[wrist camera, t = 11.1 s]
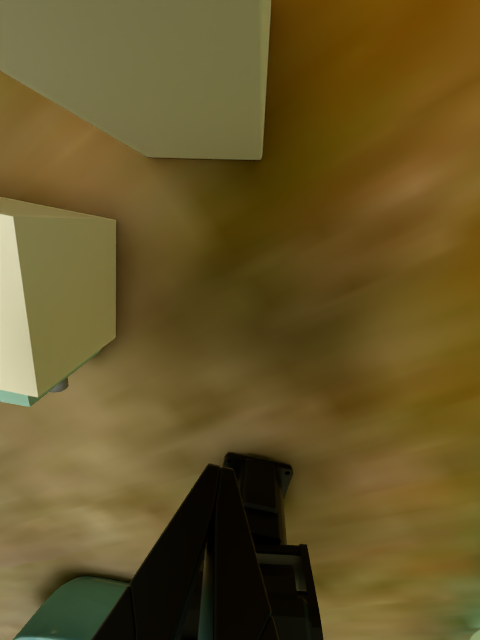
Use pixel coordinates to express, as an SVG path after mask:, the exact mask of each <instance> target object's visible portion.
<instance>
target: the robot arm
mask: <svg viewBox="0 0 480 640" xmlns="http://www.w3.org/2000/svg"><path fill="white" fill-rule="evenodd" d="M230 459H231V460H230ZM292 475H293V470H292V467H291V466H288V465H283V464H278V463H273V462H269V461H264V460H259V459H254V458H249V457H244V456H240V455H235V454H227V455H226V456H225V459H224V463H223V467H221V468H220V466H218V465H213V464H208V465H207V466H206V468H205V469H204V471H203V472H202V474H201V475H200V477H199V478H198V480H197V482H196V483H195V485H194V486H193V488H192V489H191V491H190V492H189V494H188V495H187V497H186V498H185V500H184V501H183V503H182V504H181V506H180V507H179V509H178V510H177V512H176V513H175V515H174V516H173V518H172V519H171V521H170V522H169V524H168V525H167V527H166V528H165V530H164V531H163V533H162V535H161V536H160V538H159V539H158V541H157V542H156V544H155V545H154V547H153V548H152V550H151V551H150V553H149V554H148V556H147V557H146V559H145V560H144V562H143V563H142V565H141V566H140V568H139V569H138V571H137V572H136V574H135V575H134V577H133V578H132V580H131V581H130V586H127V587H126V589H125V590H124V592H123V593H122V595H121V596H120V598H119V599H118V601H117V602H116V604H115V605H114V607H113V608H112V610H111V611H110V613H109V614H108V615H107V617H106V618H105V620H104V621H103V623H102V624H101V626H100V627H99V628H98V630H97V631H96V633H95V634H94V636H93V637H92V638H91V640H323V633H322V626H321V619H320V613H319V607H318V602H317V597H316V591H315V586H314V581H313V576H312V570H311V565H310V560H309V554H308V549H307V545H306V544H299V546H297V545H287V541H286V528H285V516H284V504H283V499H284V496H285V493H286V491H287V488H288V486H289V483H290V480H291V478H292ZM297 590H299V591H297Z"/></svg>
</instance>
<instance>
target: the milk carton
mask: <svg viewBox="0 0 480 640" xmlns="http://www.w3.org/2000/svg"><path fill="white" fill-rule="evenodd" d="M270 16H271V0H0V71H2V72H3V73H5V74H7V75H9V76H10V77H12V78H14V79H15V80H17V81H19V82H20V83H22V84H24V85H25V86H27V87H29V88H31V89H32V90H34V91H36V92H37V93H39V94H41V95H42V96H44V97H46V98H48V99H49V100H51V101H53V102H54V103H56V104H58V105H59V106H61V107H63V108H64V109H66V110H68V111H70V112H71V113H73V114H75V115H76V116H78V117H80V118H81V119H83V120H85V121H87V122H88V123H90V124H92V125H93V126H95V127H97V128H98V129H100V130H102V131H103V132H105V133H107V134H109V135H110V136H112V137H114V138H115V139H117V140H119V141H120V142H122V143H124V144H125V145H127V146H129V147H131V148H132V149H134V150H136V151H137V152H139V153H141V154H142V155H144V156H146V157H152V158H194V159H236V160H261V158H262V151H263V136H264V119H265V102H266V85H267V68H268V51H269V34H270Z"/></svg>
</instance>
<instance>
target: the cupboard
mask: <svg viewBox="0 0 480 640" xmlns="http://www.w3.org/2000/svg"><path fill="white" fill-rule="evenodd" d="M114 338H116V220H114V219H109V218H104V217H99V216H94V215H89V214H84V213H79V212H74V211H69V210H64V209H59V208H54V207H49V206H44V205H39V204H34V203H29V202H24V201H19V200H14V199H9V198H4V197H0V390H4V391H9V392H13V393H18V394H23V395H28V396H33V397H40V396H41V395H42V394H43V393H45V392H46V391H47V390H49V389H50V388H51V387H53V386H54V385H55V384H56V383H58V382H59V381H60V380H62V379H63V378H64V377H65V376H67V375H68V374H69V373H71V372H72V371H73V370H74V369H76V368H77V367H78V366H80V365H81V364H82V363H83V362H85V361H86V360H87V359H89V358H90V357H91V356H92V355H94V354H95V353H96V352H98V351H99V350H100V349H101V348H103V347H104V346H105V345H107V344H108V343H109V342H110V341H112V340H113V339H114Z"/></svg>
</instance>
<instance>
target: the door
mask: <svg viewBox="0 0 480 640" xmlns="http://www.w3.org/2000/svg"><path fill="white" fill-rule="evenodd" d="M100 351H101V349H100V350H99V351H98V352H96V353H95V354H94V355H92V356H91V357H90V358H89V359H87V360H86V361H85V362H83V363H82V364H81V365H80V366H78V367H77V368H76V369H74V370H73V371H72V372H71V373H69V374H68V375H67V376H65V377H64V378H63V379H62V380H60V381H59V382H58V383H56V384H55V385H54V386H53V387H51V388H50V389H49V390H47V391H46V392H45V393H43V394H42V395H41V396H40V397H33V396H28V395H23V394H18V393H13V392H9V391H4V390H0V402H6V403H11V404H17V405H22V406H28V407H30V406H32V405H33V404H34V403H35V402H37V401H38V400H39V399H41V398H42V397H43V396H44V395H46V394H47V393H48V392H60V391H63V390H65V389H66V388H67V387H68V376H70V375H71V374H72V373H73V372H75V371H76V370H77V369H79V368H80V367H81V366H82V365H84V364H85V363H86V362H87V361H89V360H90V359H91V358H93V357H94V356H95V355H96V354H98V353H99V352H100Z"/></svg>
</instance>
